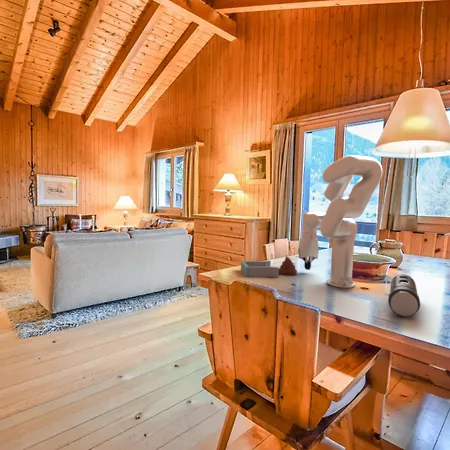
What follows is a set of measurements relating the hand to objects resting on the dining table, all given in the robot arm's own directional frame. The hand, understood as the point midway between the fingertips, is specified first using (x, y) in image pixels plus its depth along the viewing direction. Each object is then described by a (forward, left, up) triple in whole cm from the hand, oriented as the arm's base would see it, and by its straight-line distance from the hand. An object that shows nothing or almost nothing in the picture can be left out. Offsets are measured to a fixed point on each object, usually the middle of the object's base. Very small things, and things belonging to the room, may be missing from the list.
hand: (307, 269), depth 169 cm
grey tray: (0, +27, -2) cm, 27 cm away
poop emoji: (-1, +11, -3) cm, 12 cm away
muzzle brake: (-54, -16, -3) cm, 56 cm away
